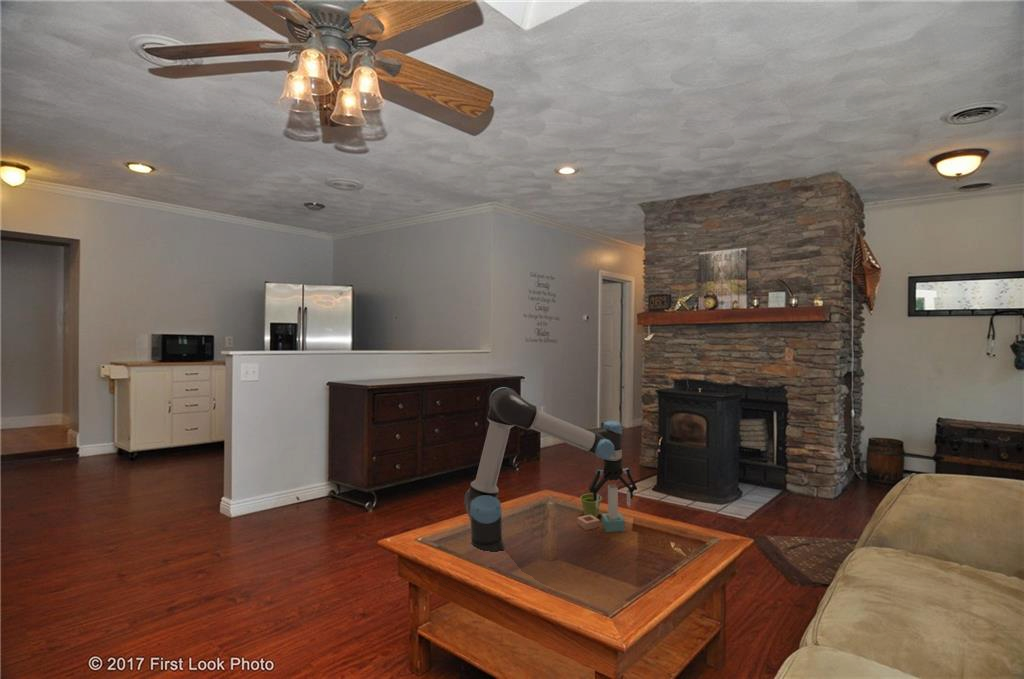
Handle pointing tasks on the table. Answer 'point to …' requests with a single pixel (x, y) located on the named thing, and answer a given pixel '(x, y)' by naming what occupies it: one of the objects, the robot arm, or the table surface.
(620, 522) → the teal square hollow block
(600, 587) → the table surface
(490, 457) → the robot arm
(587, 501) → the plant pot
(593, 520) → the beige square hollow block
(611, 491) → the light grey post
